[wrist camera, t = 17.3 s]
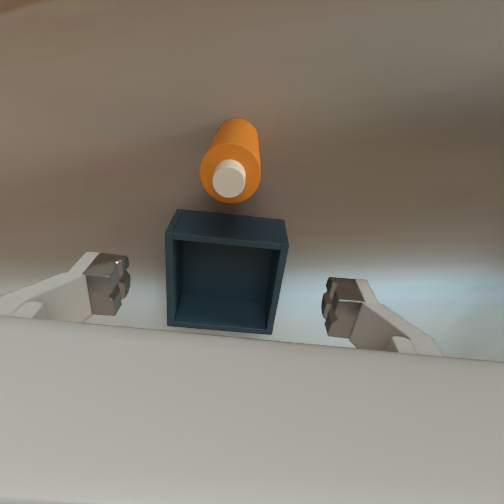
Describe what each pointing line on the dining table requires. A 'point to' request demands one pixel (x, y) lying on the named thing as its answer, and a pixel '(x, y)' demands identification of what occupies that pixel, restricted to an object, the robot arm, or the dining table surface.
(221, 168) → the orange capped bottle
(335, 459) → the robot arm
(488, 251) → the dining table surface
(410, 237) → the dining table surface
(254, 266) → the dark open tray box
